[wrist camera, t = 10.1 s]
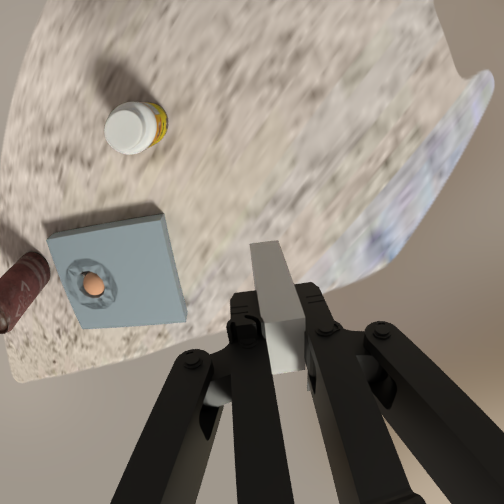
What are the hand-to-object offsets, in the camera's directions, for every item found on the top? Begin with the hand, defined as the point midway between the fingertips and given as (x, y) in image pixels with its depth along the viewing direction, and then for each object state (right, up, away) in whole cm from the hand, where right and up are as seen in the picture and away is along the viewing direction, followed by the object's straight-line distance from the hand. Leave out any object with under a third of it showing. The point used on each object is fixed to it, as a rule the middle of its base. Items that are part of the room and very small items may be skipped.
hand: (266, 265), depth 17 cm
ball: (-24, -4, +25) cm, 35 cm away
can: (-36, -2, +25) cm, 44 cm away
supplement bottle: (-14, +17, +18) cm, 28 cm away
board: (-20, -3, +27) cm, 34 cm away
